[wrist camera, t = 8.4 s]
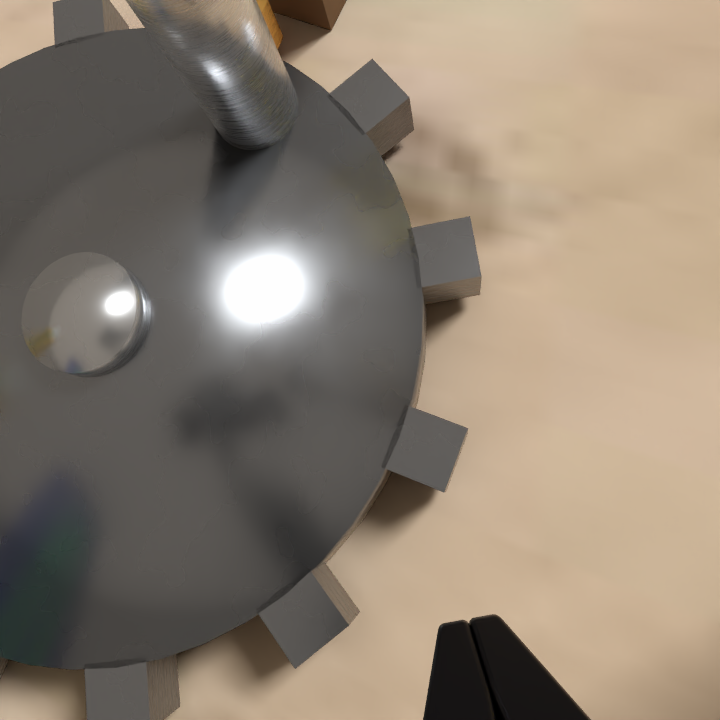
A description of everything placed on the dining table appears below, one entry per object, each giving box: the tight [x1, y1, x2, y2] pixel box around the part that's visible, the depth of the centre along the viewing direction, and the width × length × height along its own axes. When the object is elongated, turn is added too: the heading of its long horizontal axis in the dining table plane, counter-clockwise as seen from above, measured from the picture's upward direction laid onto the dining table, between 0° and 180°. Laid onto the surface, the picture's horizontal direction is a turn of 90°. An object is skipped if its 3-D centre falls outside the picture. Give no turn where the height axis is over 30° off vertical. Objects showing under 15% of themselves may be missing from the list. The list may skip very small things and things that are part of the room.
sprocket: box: [0, 0, 481, 720], centre depth 17 cm, size 25×25×12 cm
